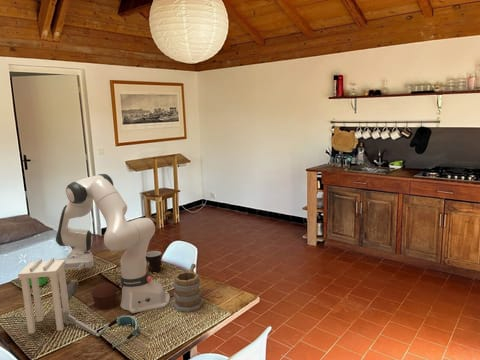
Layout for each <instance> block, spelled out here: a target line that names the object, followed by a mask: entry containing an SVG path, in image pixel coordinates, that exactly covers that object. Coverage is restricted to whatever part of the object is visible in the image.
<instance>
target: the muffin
mask: <svg viewBox="0 0 480 360" xmlns="http://www.w3.org/2000/svg"><path fill="white" fill-rule="evenodd" d="M117 292H118V288H117V286H115V285H114V284H112V283H110V282H101V283H99V284H97V285H95V286H94V287H93V289H92V290H91V292H90V294H91V295H90V296H91V297H92V299H93V303H94V306H95V309H98V310H101V311H102V310H108V309H112V308H113V307H114V306H115V305H117V304H116V302H117Z"/></svg>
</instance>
